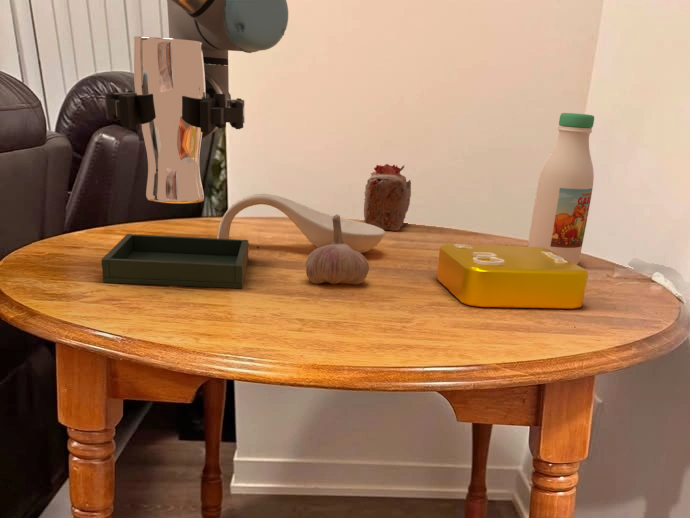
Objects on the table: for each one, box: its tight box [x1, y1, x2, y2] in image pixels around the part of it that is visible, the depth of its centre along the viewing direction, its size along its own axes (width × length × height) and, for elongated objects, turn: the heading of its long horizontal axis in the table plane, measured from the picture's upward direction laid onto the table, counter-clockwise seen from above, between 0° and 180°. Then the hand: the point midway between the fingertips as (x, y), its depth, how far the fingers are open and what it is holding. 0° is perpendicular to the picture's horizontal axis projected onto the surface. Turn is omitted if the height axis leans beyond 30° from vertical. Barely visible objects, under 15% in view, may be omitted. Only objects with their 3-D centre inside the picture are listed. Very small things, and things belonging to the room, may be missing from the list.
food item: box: [363, 163, 412, 232], centre depth 133 cm, size 14×8×10 cm, turn 177°
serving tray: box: [101, 233, 249, 290], centre depth 95 cm, size 16×16×3 cm
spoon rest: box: [216, 193, 386, 254], centre depth 110 cm, size 24×12×7 cm, turn 92°
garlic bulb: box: [305, 214, 370, 285], centre depth 93 cm, size 8×7×8 cm
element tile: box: [436, 243, 589, 310], centre depth 95 cm, size 15×15×5 cm
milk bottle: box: [527, 112, 595, 265], centre depth 110 cm, size 8×8×20 cm
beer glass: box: [133, 35, 205, 205], centre depth 80 cm, size 7×7×15 cm
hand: (164, 114), depth 75 cm, fingers closed on beer glass, 7 cm apart
